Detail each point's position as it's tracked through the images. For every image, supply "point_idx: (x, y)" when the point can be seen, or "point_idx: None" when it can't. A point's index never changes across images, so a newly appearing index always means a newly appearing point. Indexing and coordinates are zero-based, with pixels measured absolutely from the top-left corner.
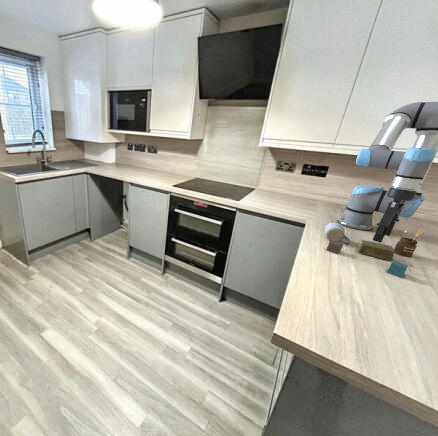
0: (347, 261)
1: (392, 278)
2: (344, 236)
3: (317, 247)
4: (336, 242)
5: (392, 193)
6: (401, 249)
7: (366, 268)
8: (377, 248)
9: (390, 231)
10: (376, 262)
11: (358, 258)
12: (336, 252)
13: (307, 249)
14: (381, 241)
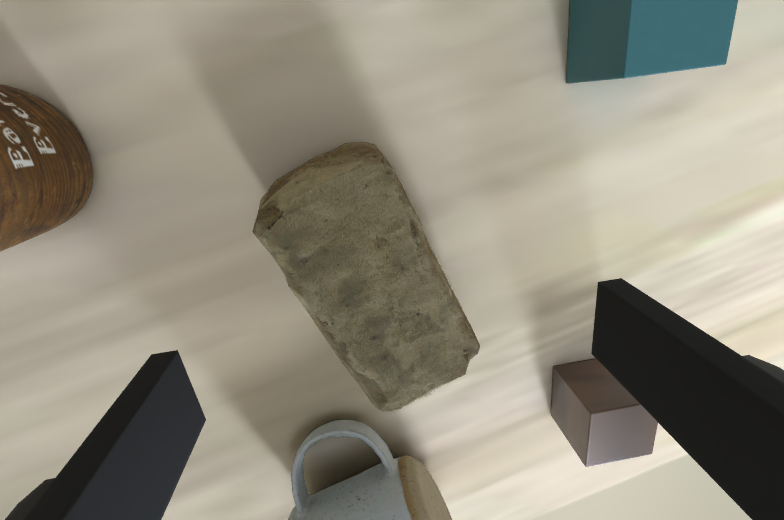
0: (682, 276)
1: None
2: (301, 488)
3: None
4: (616, 437)
5: None
6: (57, 174)
7: (698, 173)
8: (440, 270)
9: (144, 406)
10: (514, 185)
11: (561, 270)
12: None
13: None
14: (631, 287)
